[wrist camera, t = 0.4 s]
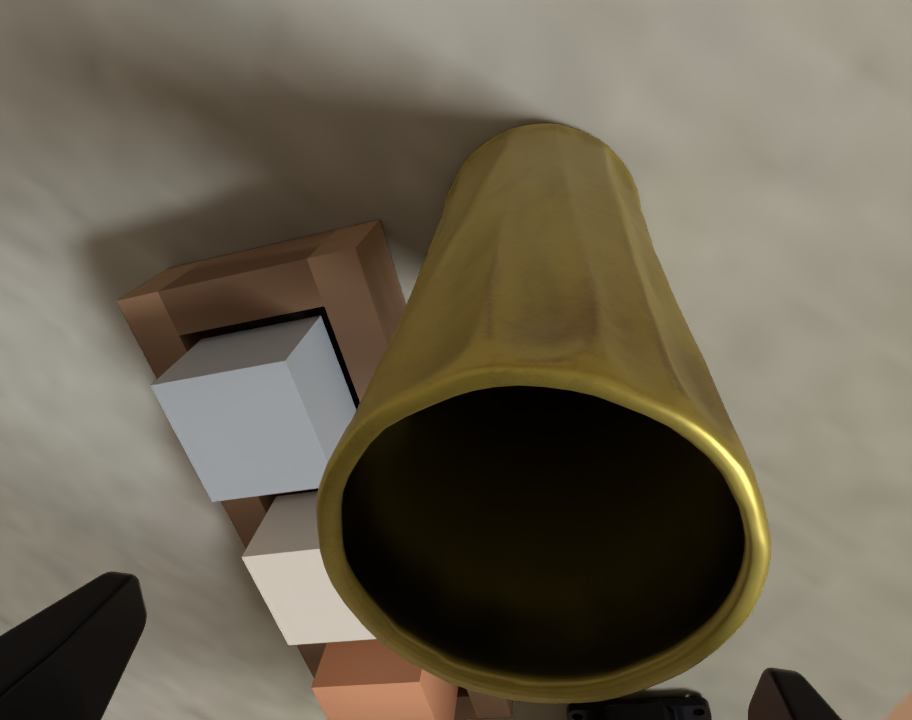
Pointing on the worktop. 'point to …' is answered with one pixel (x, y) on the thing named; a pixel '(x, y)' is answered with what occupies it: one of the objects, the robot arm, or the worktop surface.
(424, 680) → the terracotta cube block
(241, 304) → the three-slot wooden rack
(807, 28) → the worktop surface
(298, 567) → the cream cube block
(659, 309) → the vase
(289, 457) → the grey cube
